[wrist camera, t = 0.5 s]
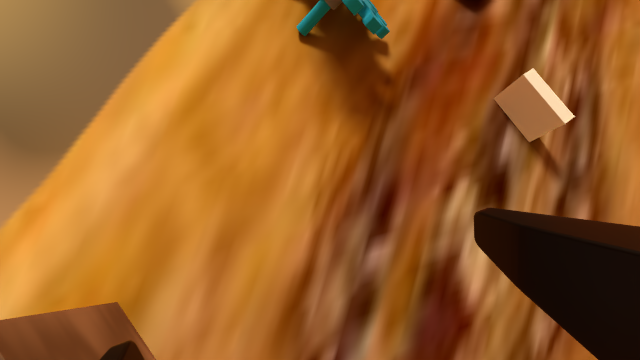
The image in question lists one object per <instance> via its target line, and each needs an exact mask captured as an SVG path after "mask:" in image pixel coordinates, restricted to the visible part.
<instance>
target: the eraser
mask: <svg viewBox="0 0 640 360" xmlns="http://www.w3.org/2000/svg"><path fill="white" fill-rule="evenodd" d="M493 99H494V100H495V101H496V102H497V103H498V105H499V106H500V107H501V108H502V110H503V111H504V112H505V113H506V114H507V116H508V117H509V118H510V119H511V121H512V122H513V123H514V124H515V126H516V127H517V128H518V129H519V130H520V132H521V133H522V134H523V135H524V137H525V138H526V139H527V140H528V141H529V142H531V141H533V140H535V139H537V138H539V137H541V136H542V135H544V134H546V133H548V132H550V131H552V130H554V129H556V128H558V127H560V126H561V125H563V124H565V123H567V122H568V121H569V120H571V119H572V118H573V117H575V116H574V115H573V114H572V113H571V112H570V111H569V109H568V108H567V107H566V106H565V105H564V104H563V102H562V101H561V100H560V99H559V98H558V97H557V95H556V94H555V93H554V92H553V91H552V90H551V88H550V87H549V86H548V85H547V84H546V83H545V81H544V80H543V79H542V78H541V77H540V76H539V74H538V73H537V72H536V71H535V70H534V69H531V70H530V71H528V72H527V73H525V74H523V75H522V76H521V77H520V78H518V79H517V80H516V81H515V82H513V83H512V84H511V85H510V86H508V87H507V88H506V89H505V90H503V91H502V92H501V93H500V94H498V95H497V96H496V97H495V98H493Z"/></svg>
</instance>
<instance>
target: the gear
mask: <svg viewBox="0 0 640 360" xmlns="http://www.w3.org/2000/svg"><path fill="white" fill-rule="evenodd" d="M342 1H343V3H344V4H345V5H346V7H347V8H348V9H349V10H350V11H351V12H352V14H353V15H356V14H357V13H358V14H359V15H360V16H361V18H362V19H363V20H362V22H363V23H364V25H365V26H366V27H367V28H368V29H369V30H370V31H371V32H372V33H373V34H375V33H376V35H377V36H378V37H379V38H381V39H382V38H383V37H384V36H385V35H387V34H388V33H389V32H390V31H389V29H388V28H387V27H386V26H387V24H386V22H385V21H384V20H383V19H382V17H381V16H380V15H379V14H378V11H377V9H376V8H375V6H374V5H373V4H372V3H371V2H370V0H320V1H319V2H318V3H317V4H316V5H315V6H314V7H313V9H312V10H311V11H310V12H309V13H308V14H307V15H306V17H305V18H304V19H303V20H302V21H301V22H300V23H299V25H298V26H297V29H298V30H299V32H300V33H301V34H302V35H304V36H306V35H307V34H308V33H309V32H310V31H311V29H312V28H313V27H314V26H315V25H316V24H317V23H318V22H319V21H320V20H321V18H322V17H323V16H324V15H325V14H326V13H327V12H328V11H329V10H330V9H331V8H332V9H333V10H335V9H336V8H337V7H338V6H339V5H340V4H341V2H342Z"/></svg>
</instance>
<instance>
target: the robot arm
mask: <svg viewBox="0 0 640 360" xmlns="http://www.w3.org/2000/svg"><path fill="white" fill-rule="evenodd" d="M474 238H475V241H476V243H477V245H478V246H479V247H480V248H481V250H482V251H483V252H484V253H485V254H486V255H487V256H488V257H489V258H490V259H491V260H492V261H493V262H494V263H495V264H496V266H497V267H498V268H499V269H500V270H501V271H502V272H503V273H504V274H505V275H506V276H507V277H508V278H509V279H510V280H511V281H512V282H513V283H514V284H515V285H516V286H517V287H518V288H519V289H520V290H521V291H522V292H523V293H524V294H525V295H526V296H527V297H528V298H530V299H531V300H532V301H533V302H534V303H535V304H536V305H537V306H539V307H540V308H541V309H542V310H543V311H544V312H545V313H546V314H548V315H549V316H550V317H551V318H552V319H553V320H554V321H555V322H557V323H558V324H559V325H560V326H561V327H562V328H563V329H564V330H566V331H567V332H568V333H569V334H570V335H571V336H572V337H573V338H575V339H576V340H577V341H578V342H579V343H580V344H581V345H582V346H584V347H585V348H586V349H587V350H588V351H589V352H590V353H591V354H593V355H594V356H595V357H596V358H597V359H598V360H640V227H638V226H631V225H623V224H615V223H607V222H599V221H591V220H583V219H575V218H568V217H560V216H552V215H544V214H536V213H528V212H520V211H512V210H504V209H497V208H486V209H483V210H480V211H478V212H476V213H475V215H474ZM99 360H145V359H144V357H143V355H142V353H141V352H140V350H139V348H138V346H137V344H136V343H135V342H134V341H133V340H127V341H125V342H122V343H119V344H116V345H114V346H112V347H110V348H109V349H108V351H107V352H106V353H105V354H104V355H103V356H102V357H101V358H100V359H99Z"/></svg>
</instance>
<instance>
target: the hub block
mask: <svg viewBox="0 0 640 360" xmlns="http://www.w3.org/2000/svg"><path fill="white" fill-rule="evenodd" d="M127 340H133V341H134V342H135V343H136V344H137V346H138V348H139V350H140V352H141V353H142V355H143V357H144V359H145V360H156V359H155V358H154V356H153V355H152V353H151V352H150V350H149V349H148V347H147V346H146V344H145V343H144V341H143V340H142V338H141V337H140V335H139V334H138V332H137V331H136V329H135V328H134V326H133V325H132V323H131V322H130V320H129V319H128V317H127V316H126V314H125V313H124V312H123V310H122V309H121V307H120V306H119V304H118V303H117V302H115V303H108V304H102V305H95V306H89V307H83V308H76V309H70V310H63V311H57V312H50V313H44V314H37V315H31V316H24V317H18V318H12V319H5V320H0V360H99V359H100V358H101V357H102V356H103V355H104V354H105V353H106V352H107V351H108V349H109V348H110V347H112V346H114V345H116V344H119V343H122V342H125V341H127Z"/></svg>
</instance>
